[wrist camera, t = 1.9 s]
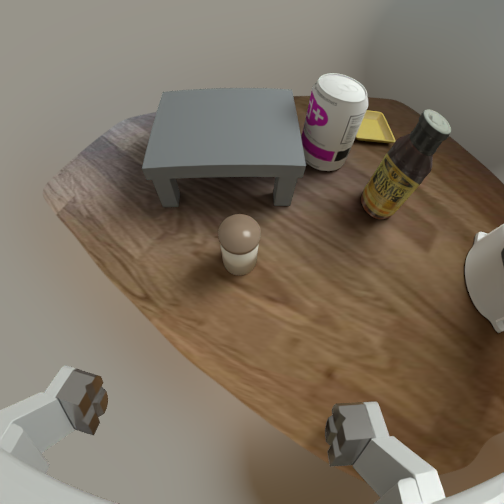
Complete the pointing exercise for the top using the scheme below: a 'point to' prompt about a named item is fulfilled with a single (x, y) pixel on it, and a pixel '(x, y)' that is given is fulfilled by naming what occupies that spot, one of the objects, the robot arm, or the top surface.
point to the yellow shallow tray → (375, 128)
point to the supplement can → (333, 120)
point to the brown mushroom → (239, 243)
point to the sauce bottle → (404, 166)
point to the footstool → (225, 139)
